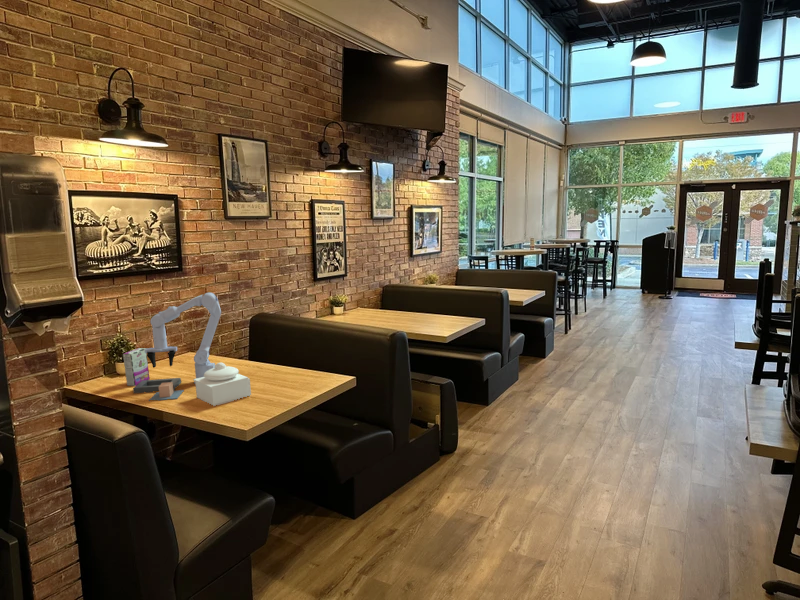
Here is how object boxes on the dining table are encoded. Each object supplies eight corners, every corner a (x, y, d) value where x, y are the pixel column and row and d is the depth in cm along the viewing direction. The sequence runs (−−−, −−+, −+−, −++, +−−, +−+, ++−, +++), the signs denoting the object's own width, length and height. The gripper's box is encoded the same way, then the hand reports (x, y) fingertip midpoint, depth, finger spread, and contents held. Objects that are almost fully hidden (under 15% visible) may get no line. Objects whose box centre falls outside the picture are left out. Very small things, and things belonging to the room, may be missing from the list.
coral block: (173, 392, 245) (172, 382, 244) (170, 396, 239) (169, 385, 239) (163, 393, 244) (162, 382, 244) (159, 397, 239) (158, 386, 238)
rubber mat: (184, 390, 248) (183, 389, 248) (176, 399, 237) (176, 398, 237) (157, 392, 247) (157, 391, 247) (148, 401, 235) (148, 400, 235)
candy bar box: (141, 379, 271) (137, 347, 268) (150, 379, 270) (146, 348, 267) (126, 386, 260) (122, 353, 257) (135, 386, 259) (131, 353, 256)
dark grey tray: (181, 382, 262) (180, 377, 261) (173, 390, 250) (173, 385, 249) (142, 385, 259) (142, 380, 259) (133, 393, 247) (133, 388, 247)
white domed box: (251, 396, 237) (248, 361, 235) (212, 407, 225) (209, 370, 223) (233, 388, 250) (230, 355, 248) (195, 398, 238) (192, 363, 235)
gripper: (141, 341, 250) (144, 369, 252) (173, 339, 252) (176, 367, 254) (146, 338, 257) (149, 365, 259) (177, 336, 259) (180, 363, 261)
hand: (162, 366), depth 257 cm, fingers open, 7 cm apart
